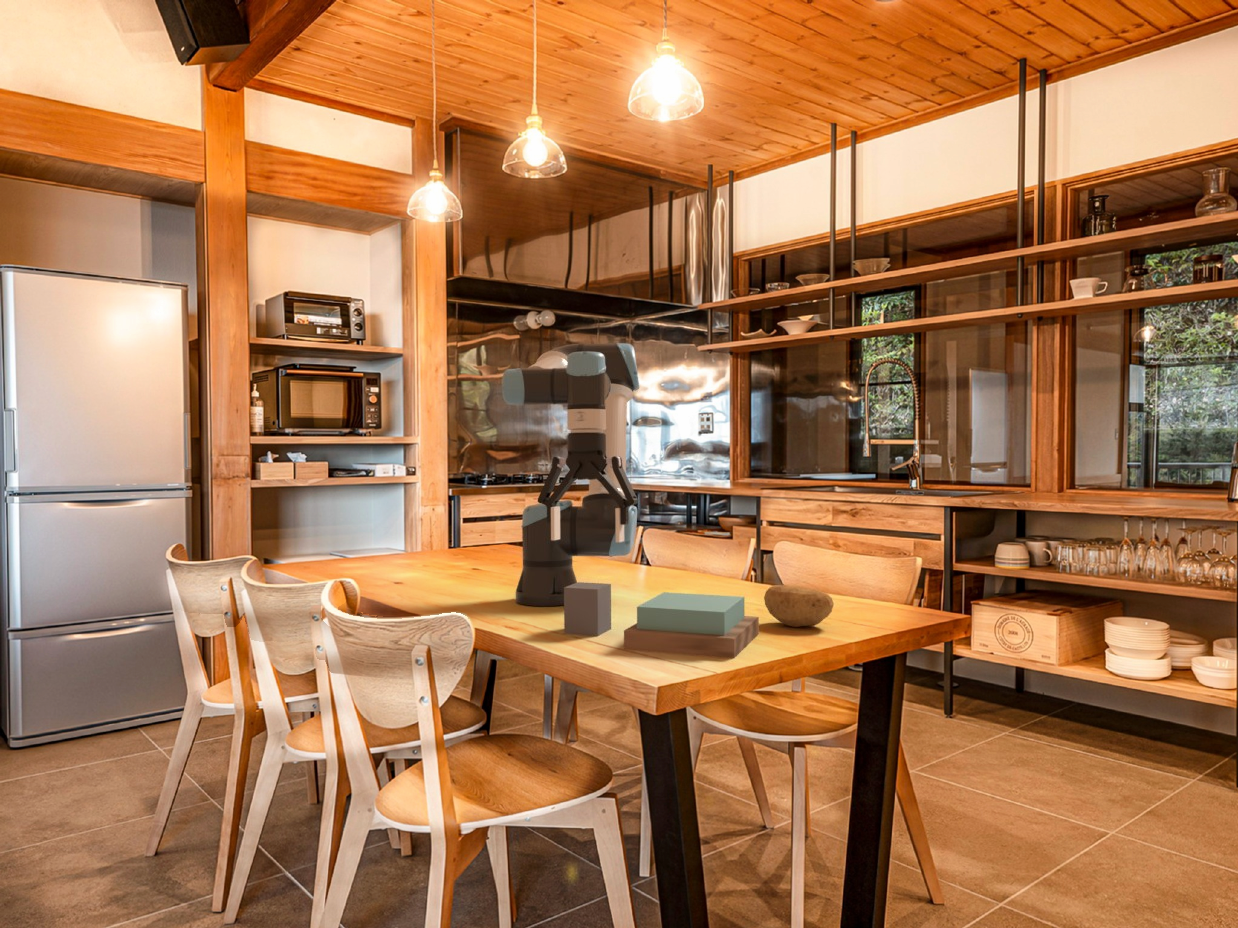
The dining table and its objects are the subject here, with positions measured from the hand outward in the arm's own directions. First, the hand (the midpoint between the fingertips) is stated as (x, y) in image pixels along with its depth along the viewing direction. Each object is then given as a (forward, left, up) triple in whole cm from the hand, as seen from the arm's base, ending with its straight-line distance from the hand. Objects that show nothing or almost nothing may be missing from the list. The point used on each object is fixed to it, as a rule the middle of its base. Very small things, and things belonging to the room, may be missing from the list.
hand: (587, 540), depth 171 cm
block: (0, 0, -18) cm, 18 cm away
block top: (+2, +22, -14) cm, 26 cm away
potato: (-18, +38, -18) cm, 46 cm away
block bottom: (+2, +22, -18) cm, 29 cm away
